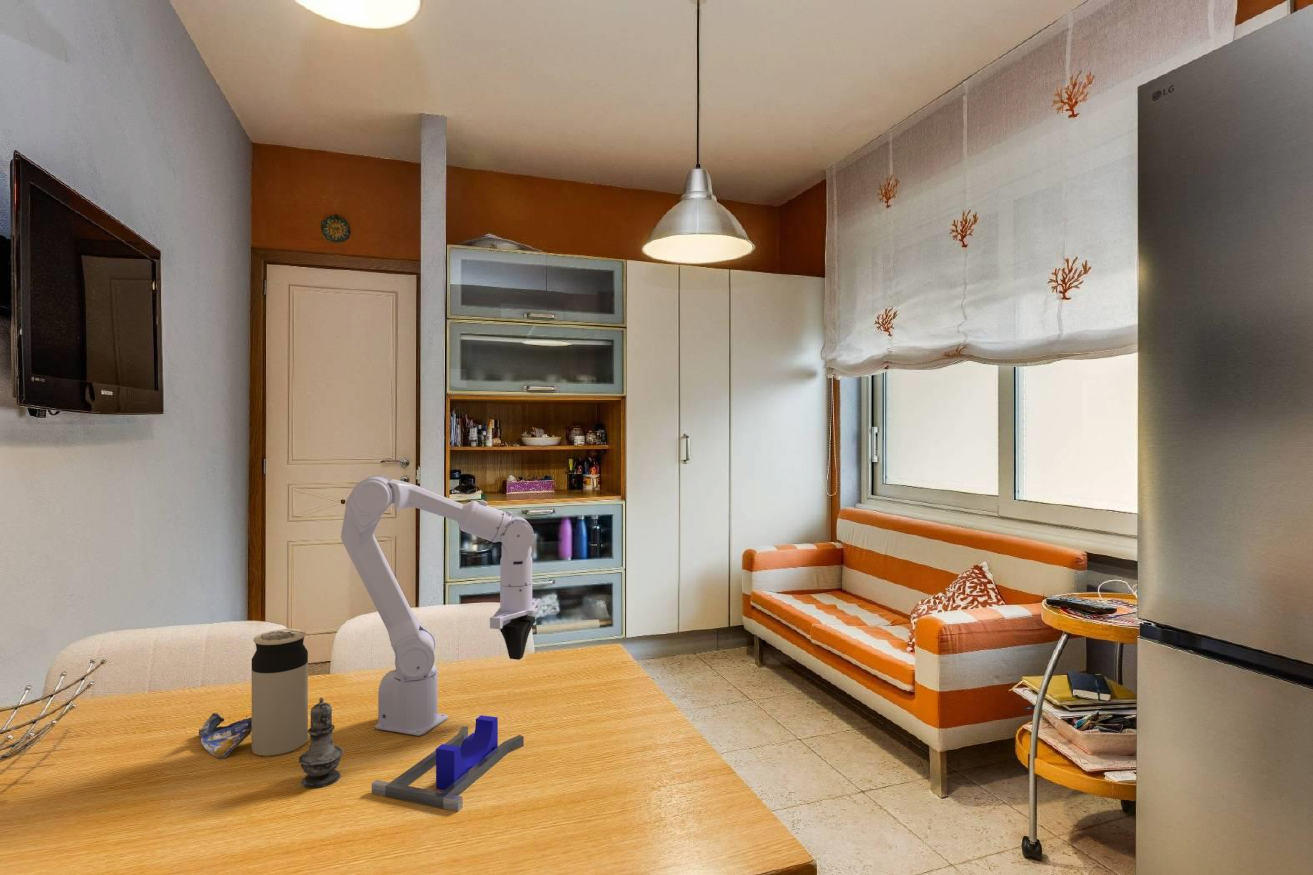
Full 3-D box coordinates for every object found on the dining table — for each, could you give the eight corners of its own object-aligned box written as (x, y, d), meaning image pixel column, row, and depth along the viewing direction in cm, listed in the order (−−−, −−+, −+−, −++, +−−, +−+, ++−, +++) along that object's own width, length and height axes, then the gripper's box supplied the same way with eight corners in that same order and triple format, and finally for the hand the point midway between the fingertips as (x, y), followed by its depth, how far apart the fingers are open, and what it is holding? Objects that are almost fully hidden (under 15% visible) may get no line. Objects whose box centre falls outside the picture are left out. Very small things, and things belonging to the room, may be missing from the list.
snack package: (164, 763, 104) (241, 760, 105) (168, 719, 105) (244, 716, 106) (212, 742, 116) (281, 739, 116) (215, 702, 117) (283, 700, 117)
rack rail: (371, 793, 95) (371, 783, 95) (456, 733, 114) (456, 724, 114) (458, 811, 90) (458, 800, 90) (531, 745, 109) (531, 736, 109)
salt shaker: (298, 793, 95) (298, 708, 95) (298, 774, 100) (298, 693, 100) (344, 783, 97) (344, 700, 97) (342, 765, 103) (342, 687, 103)
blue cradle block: (472, 751, 108) (472, 713, 108) (497, 755, 107) (497, 717, 107) (426, 788, 96) (426, 747, 96) (454, 793, 95) (454, 751, 95)
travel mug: (266, 762, 104) (266, 645, 104) (242, 748, 108) (242, 636, 108) (317, 742, 110) (317, 633, 110) (292, 730, 115) (292, 625, 115)
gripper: (515, 593, 114) (515, 673, 114) (554, 577, 128) (554, 648, 128) (479, 590, 116) (479, 669, 116) (521, 574, 130) (521, 644, 130)
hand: (516, 658), depth 122 cm, fingers closed
